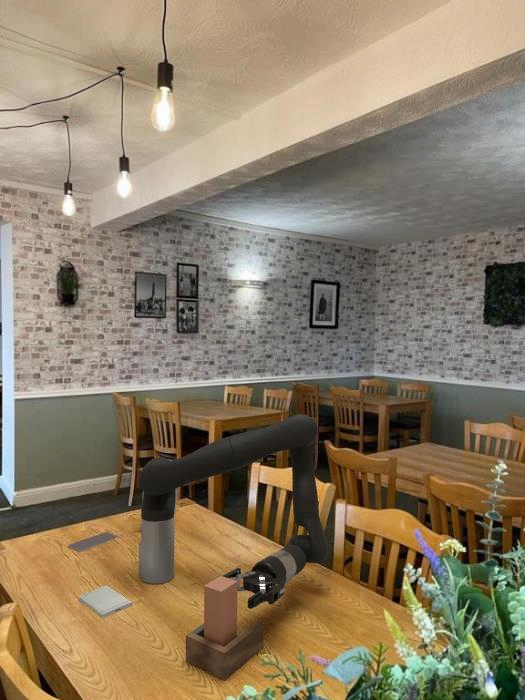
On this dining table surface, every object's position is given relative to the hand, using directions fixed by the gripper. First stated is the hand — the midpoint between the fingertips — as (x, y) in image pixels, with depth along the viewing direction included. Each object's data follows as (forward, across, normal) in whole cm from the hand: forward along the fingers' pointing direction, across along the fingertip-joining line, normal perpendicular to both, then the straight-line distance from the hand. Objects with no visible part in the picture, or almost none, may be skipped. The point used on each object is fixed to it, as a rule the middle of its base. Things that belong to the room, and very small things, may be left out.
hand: (233, 598), depth 113 cm
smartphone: (-19, -73, +12) cm, 76 cm away
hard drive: (+4, -38, +12) cm, 40 cm away
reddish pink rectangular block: (+4, 0, +11) cm, 12 cm away
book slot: (+2, 0, +11) cm, 11 cm away
